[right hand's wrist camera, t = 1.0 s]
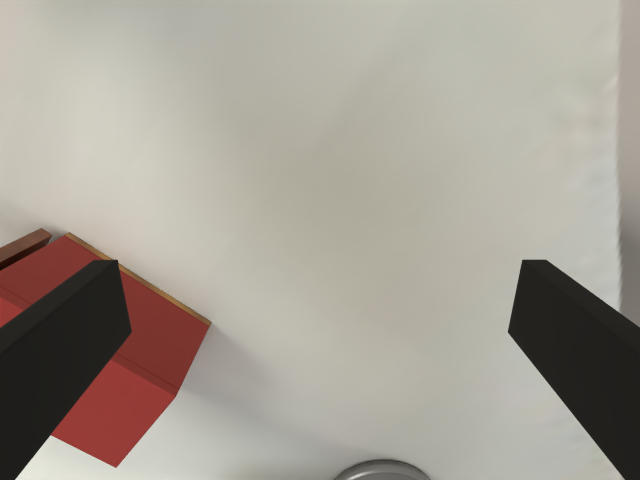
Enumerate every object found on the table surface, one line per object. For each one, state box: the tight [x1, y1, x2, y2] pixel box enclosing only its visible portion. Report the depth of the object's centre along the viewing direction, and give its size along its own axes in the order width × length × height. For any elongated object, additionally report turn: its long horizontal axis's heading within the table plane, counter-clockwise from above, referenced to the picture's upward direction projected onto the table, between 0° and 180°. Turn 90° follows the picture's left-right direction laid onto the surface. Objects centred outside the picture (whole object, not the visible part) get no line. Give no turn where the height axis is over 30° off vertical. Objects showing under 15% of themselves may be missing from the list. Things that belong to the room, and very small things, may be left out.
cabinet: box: [0, 232, 212, 468], centre depth 38 cm, size 17×11×11 cm, turn 52°
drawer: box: [0, 228, 52, 271], centre depth 36 cm, size 22×10×10 cm, turn 52°
